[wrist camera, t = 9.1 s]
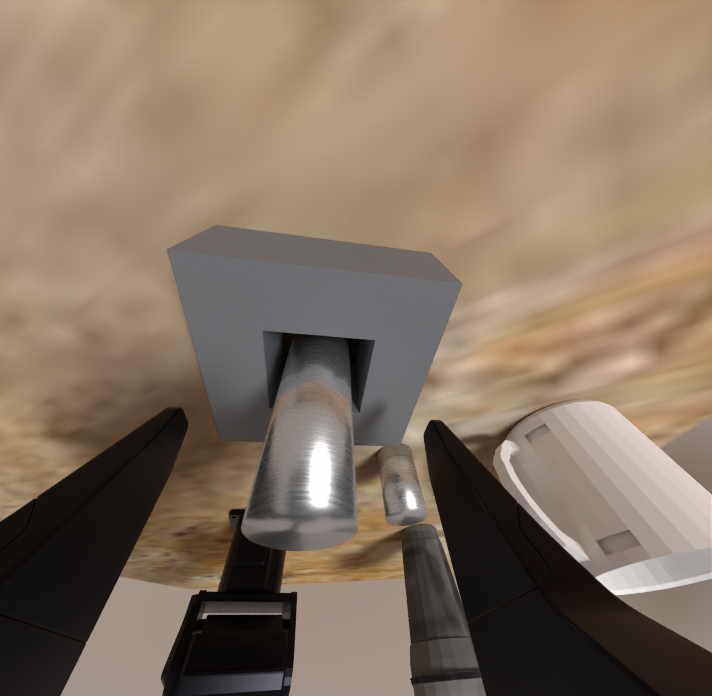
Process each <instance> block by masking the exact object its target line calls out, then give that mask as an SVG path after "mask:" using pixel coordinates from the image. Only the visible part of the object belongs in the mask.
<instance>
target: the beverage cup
mask: <svg viewBox="0 0 712 696" xmlns="http://www.w3.org/2000/svg"><path fill="white" fill-rule="evenodd" d="M401 536H402V554H403V564H404V575H405V585H406V596H407V607H408V617H409V628H410V638H411V646H410V665H411V672H412V678H411V679H410V680H411V683H412V686H413V688H414V694H415V696H486V694H485V690H484V686H483V682H482V678H481V675H480V671H479V667H478V663H477V659H476V655H475V651H474V648H473V644H472V640H471V636H470V632H469V628H468V623H467V620H466V616H465V612H464V608H463V605H462V602H461V599H460V596H459V593H458V590H457V587H456V584H455V582H454V579H453V575H452V573H451V570H450V567H449V564H448V561H447V558H446V555H445V552H444V549H443V546H442V543H441V542H440V539H439V536H438V535H437V531H436V528H435V527H434V526H432V525H427V524H421V525H414V526H410V527H408V528H405V529H404V530H403V531H402V532H401Z"/></svg>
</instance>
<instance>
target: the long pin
mask: <svg viewBox="0 0 712 696" xmlns="http://www.w3.org/2000/svg"><path fill="white" fill-rule="evenodd" d="M357 529H358V520H357V500H356V479H355V459H354V439H353V419H352V398H351V378H350V358H349V338H344V337H332V336H320V335H309V334H297V333H294V335H293V338H292V342H291V346H290V349H289V353H288V357H287V360H286V364H285V368H284V371H283V375H282V379H281V382H280V386H279V390H278V393H277V397H276V401H275V404H274V408H273V412H272V415H271V419H270V423H269V426H268V430H267V434H266V437H265V441H264V445H263V448H262V452H261V456H260V459H259V463H258V467H257V470H256V474H255V478H254V481H253V485H252V489H251V492H250V496H249V500H248V503H247V507H246V511H245V514H244V518H243V522H242V526H241V531H242V533H243V534H244V536H245V537H246V538H248V539H249V540H250V541H252V542H254V543H256V544H259V545H261V546H264V547H268V548H272V549H278V550H286V551H310V550H319V549H325V548H329V547H333V546H336V545H339V544H341V543H344V542H346V541H347V540H349V539H351V538H352V537H353V536H354V535H355V534H356V532H357Z"/></svg>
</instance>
